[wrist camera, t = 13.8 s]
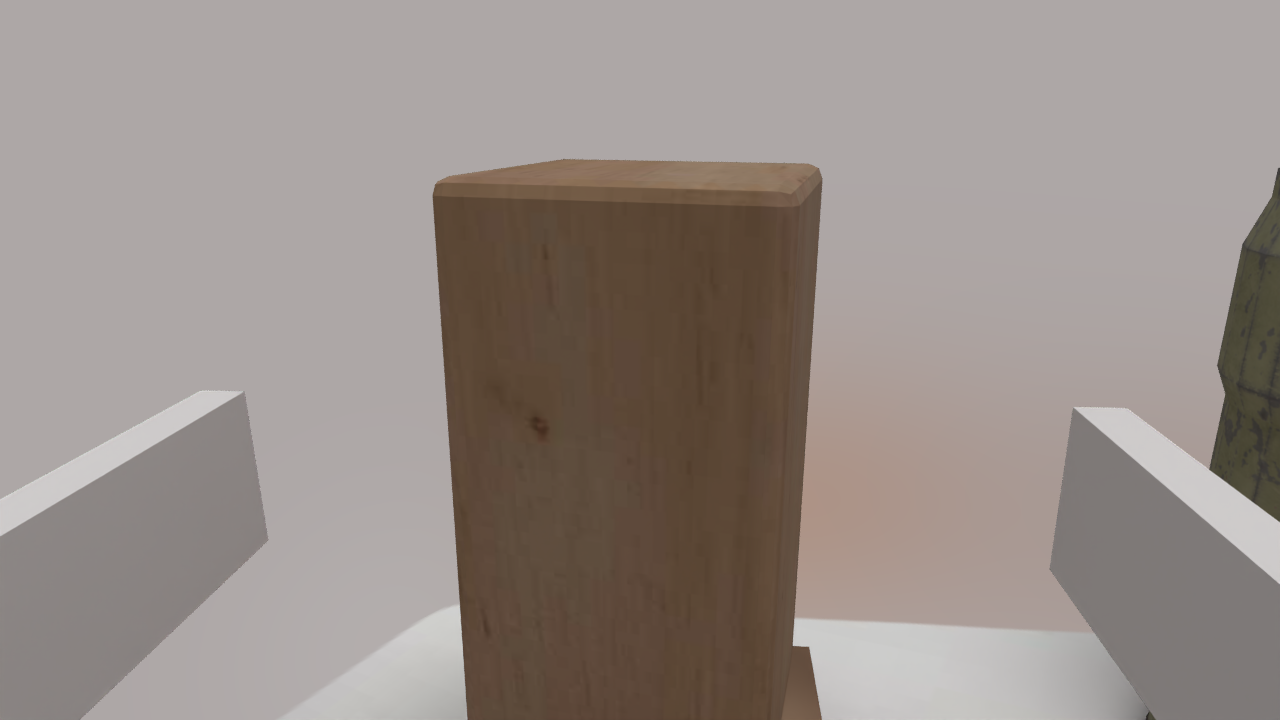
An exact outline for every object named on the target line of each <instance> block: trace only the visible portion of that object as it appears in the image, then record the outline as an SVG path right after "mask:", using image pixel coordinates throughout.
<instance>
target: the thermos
mask: <svg viewBox="0 0 1280 720" xmlns="http://www.w3.org/2000/svg"><path fill="white" fill-rule="evenodd" d="M1217 366H1218V370H1219V373H1220V377H1221V380H1222V384H1223V387H1224V391H1225V399H1224V404H1223V408H1222V413H1221V417H1220V422H1219V427H1218V432H1217V436H1216V441H1215V446H1214V451H1213V455H1212V459H1211V464H1210V469H1209V470H1210V471H1212V472H1213V473H1214V474H1216V475H1217V476H1218V477H1220V478H1221V479H1222V480H1224V481H1225V482H1226V483H1228V484H1229V485H1230V486H1232V487H1233V488H1234V489H1236V490H1237V491H1238V492H1240V493H1241V494H1242V495H1244V496H1245V497H1246V498H1248V499H1249V500H1250V501H1252V502H1253V503H1254V504H1256V505H1257V506H1259V507H1260V508H1261V509H1263V510H1264V511H1265V512H1267V513H1268V514H1269V515H1271V516H1272V517H1273V518H1275V519H1276V520H1277V521H1279V522H1280V168H1278V172H1277V176H1276V181H1275V186H1274V190H1273V195H1272V198H1271V199H1270V201H1269V202H1268V204H1267V206H1266V207H1265V209H1264V210H1263V212H1262V214H1261V215H1260V217H1259V218H1258V220H1257V222H1256V223H1255V225H1254V227H1253V228H1252V230H1251V231H1250V233H1249V235H1248V236H1247V238H1246V239H1245V241H1244V243H1243V245H1242V250H1241V254H1240V259H1239V264H1238V269H1237V274H1236V279H1235V283H1234V288H1233V293H1232V298H1231V303H1230V307H1229V312H1228V317H1227V322H1226V326H1225V331H1224V336H1223V341H1222V345H1221V350H1220V355H1219V360H1218V365H1217ZM1146 720H1156V719H1155V718H1154V716H1153V715H1152V713H1151V712H1150V711H1149V713H1148V714H1147V716H1146Z"/></svg>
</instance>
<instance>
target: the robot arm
mask: <svg viewBox="0 0 1280 720" xmlns="http://www.w3.org/2000/svg"><path fill="white" fill-rule="evenodd" d="M267 541H268V536H267V529H266V523H265V517H264V510H263V504H262V498H261V491H260V485H259V479H258V473H257V466H256V460H255V454H254V447H253V441H252V435H251V429H250V422H249V416H248V410H247V404H246V397H245V392H244V391H199V392H197V393H195V394H193V395H192V396H190V397H188V398H186V399H184V400H182V401H181V402H179V403H177V404H176V405H173V406H171V407H170V408H168V409H166V410H164V411H162V412H160V413H159V414H157V415H155V416H153V417H151V418H149V419H147V420H146V421H144V422H142V423H140V424H139V425H136V426H134V427H133V428H131V429H129V430H127V431H125V432H123V433H122V434H120V435H118V436H116V437H114V438H112V439H110V440H109V441H107V442H105V443H103V444H101V445H99V446H98V447H96V448H94V449H92V450H90V451H88V452H87V453H85V454H83V455H81V456H79V457H77V458H76V459H74V460H72V461H70V462H68V463H66V464H64V465H62V466H61V467H59V468H57V469H55V470H53V471H52V472H50V473H48V474H46V475H44V476H42V477H40V478H39V479H37V480H35V481H33V482H31V483H29V484H28V485H26V486H24V487H22V488H20V489H18V490H16V491H15V492H13V493H11V494H9V495H7V496H5V497H3V498H2V499H0V720H80V719H81V718H82V717H83V716H84V715H85V714H86V713H88V712H89V711H90V710H91V709H92V708H93V707H94V706H95V705H96V704H97V703H98V702H99V701H100V700H101V699H102V698H103V697H104V696H105V695H106V694H107V693H109V691H110V690H112V689H113V688H114V687H115V686H116V685H117V684H118V683H119V682H120V681H121V680H122V679H123V678H124V677H125V676H126V675H127V674H128V673H129V672H131V671H132V670H133V669H134V668H135V667H136V666H137V665H138V664H139V663H140V662H141V661H142V660H143V659H144V658H145V657H146V656H147V655H148V654H149V653H151V652H152V651H153V650H154V649H155V648H156V647H157V646H158V645H159V644H160V643H161V642H162V641H163V640H164V639H165V638H166V637H167V636H168V635H169V634H171V633H172V632H173V631H174V630H175V629H176V628H177V627H178V626H179V625H180V624H181V623H182V622H183V621H184V620H185V619H186V618H187V617H188V616H189V615H190V614H192V613H193V612H194V611H195V610H196V609H197V608H198V607H199V606H200V605H201V604H202V603H203V602H204V601H205V600H206V599H207V598H208V597H209V596H210V595H211V594H212V593H214V592H215V591H216V590H217V589H218V588H219V587H220V586H221V585H222V584H223V583H224V582H225V581H226V580H227V579H228V578H229V577H230V576H231V575H232V574H233V573H235V572H236V571H237V570H238V568H240V567H241V566H242V565H243V564H244V563H245V562H246V561H247V560H248V559H249V558H250V557H251V556H252V555H254V554H255V553H256V551H258V550H259V549H260V548H261V547H262V546H263V545H264V544H265V543H266V542H267ZM1050 570H1051V572H1052V573H1053V575H1054V576H1055V577H1056V579H1057V580H1058V582H1059V583H1060V585H1061V586H1062V587H1063V589H1064V590H1065V592H1066V593H1067V594H1068V596H1069V597H1070V599H1071V600H1072V601H1073V603H1074V604H1075V606H1076V607H1077V609H1078V610H1079V611H1080V613H1081V614H1082V616H1083V617H1084V618H1085V620H1086V621H1087V622H1088V624H1089V626H1090V627H1091V628H1092V630H1093V631H1094V633H1095V634H1096V636H1097V637H1098V638H1099V640H1100V641H1101V643H1102V644H1103V645H1104V647H1105V648H1106V650H1107V651H1108V653H1109V654H1110V655H1111V657H1112V658H1113V660H1114V661H1115V662H1116V664H1117V665H1118V667H1119V668H1120V669H1121V671H1122V672H1123V674H1124V675H1125V677H1126V678H1127V679H1128V681H1129V682H1130V684H1131V685H1132V686H1133V688H1134V689H1135V691H1136V692H1137V694H1138V695H1139V696H1140V698H1141V699H1142V701H1143V702H1144V703H1145V705H1146V706H1147V708H1148V709H1149V711H1150V712H1151V713H1152V715H1153V716H1154V718H1155V719H1156V720H1280V522H1279V521H1277V520H1276V519H1275V518H1273V517H1272V516H1271V515H1269V514H1268V513H1267V512H1265V511H1264V510H1263V509H1261V508H1260V507H1259V506H1257V505H1256V504H1254V503H1253V502H1252V501H1250V500H1249V499H1248V498H1246V497H1245V496H1244V495H1242V494H1241V493H1240V492H1238V491H1237V490H1236V489H1234V488H1233V487H1232V486H1230V485H1229V484H1228V483H1226V482H1225V481H1224V480H1222V479H1221V478H1220V477H1218V476H1217V475H1216V474H1214V473H1213V472H1212V471H1210V470H1209V469H1208V468H1206V467H1205V466H1204V465H1202V464H1201V463H1200V462H1198V461H1197V460H1195V459H1194V458H1193V457H1191V456H1190V455H1189V454H1187V453H1186V452H1185V451H1183V450H1182V449H1181V448H1179V447H1178V446H1177V445H1175V444H1174V443H1173V442H1171V441H1170V440H1169V439H1167V438H1166V437H1165V436H1163V435H1162V434H1161V433H1159V432H1158V431H1157V430H1155V429H1154V428H1153V427H1151V426H1150V425H1148V424H1147V423H1146V422H1144V421H1143V420H1142V419H1140V418H1139V417H1138V416H1136V415H1135V414H1134V413H1132V412H1131V411H1130V410H1128V409H1127V408H1094V407H1073V411H1072V418H1071V426H1070V432H1069V439H1068V446H1067V453H1066V459H1065V466H1064V474H1063V480H1062V487H1061V494H1060V501H1059V508H1058V515H1057V522H1056V528H1055V535H1054V543H1053V549H1052V556H1051V563H1050Z"/></svg>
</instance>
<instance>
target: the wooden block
mask: <svg viewBox="0 0 1280 720" xmlns="http://www.w3.org/2000/svg"><path fill="white" fill-rule="evenodd" d="M821 192H822V176H821V174H820V171H819V168H817V167H815V166H813V165H810V164H795V163H793V164H792V163H738V162H683V161H630V160H629V161H628V160H627V161H626V160H575V159H572V160H571V159H563V160H556V161H550V162H542V163H536V164H528V165H522V166H515V167H509V168H501V169H494V170H488V171H481V172H474V173H467V174H461V175H453V176H449V177H446V178H444V179H442V180H440V181H438V182H437V183H436V184H435V188H434V192H433V207H434V223H435V238H436V251H437V267H438V282H439V297H440V312H441V326H442V342H443V357H444V372H445V387H446V401H447V417H448V431H449V446H450V461H451V477H452V492H453V507H454V521H455V535H456V536H455V537H456V550H457V551H456V552H457V566H458V581H459V595H460V611H461V626H462V641H463V656H464V671H465V686H466V701H467V716H468V720H781V718H782V711H783V705H784V699H785V692H786V686H787V680H788V674H789V667H790V661H791V655H792V646H793V630H794V613H795V599H796V582H797V568H798V551H799V536H800V521H801V504H802V490H803V473H804V458H805V443H806V427H807V411H808V396H809V380H810V364H811V348H812V333H813V318H814V301H815V286H816V271H817V255H818V239H819V223H820V208H821Z"/></svg>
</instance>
